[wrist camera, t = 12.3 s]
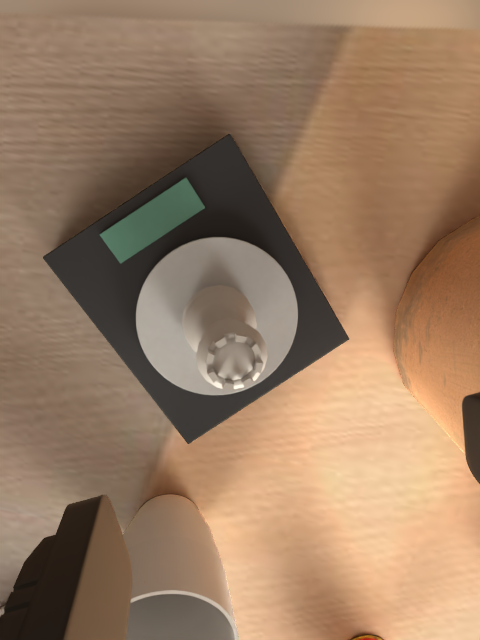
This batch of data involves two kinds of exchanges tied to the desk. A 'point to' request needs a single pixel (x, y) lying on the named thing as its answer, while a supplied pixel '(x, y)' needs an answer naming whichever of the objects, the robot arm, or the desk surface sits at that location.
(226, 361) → the rook chess piece
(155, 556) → the cup
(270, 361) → the scale
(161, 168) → the desk surface
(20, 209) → the desk surface
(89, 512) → the robot arm
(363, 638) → the magic lamp
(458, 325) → the pottery
